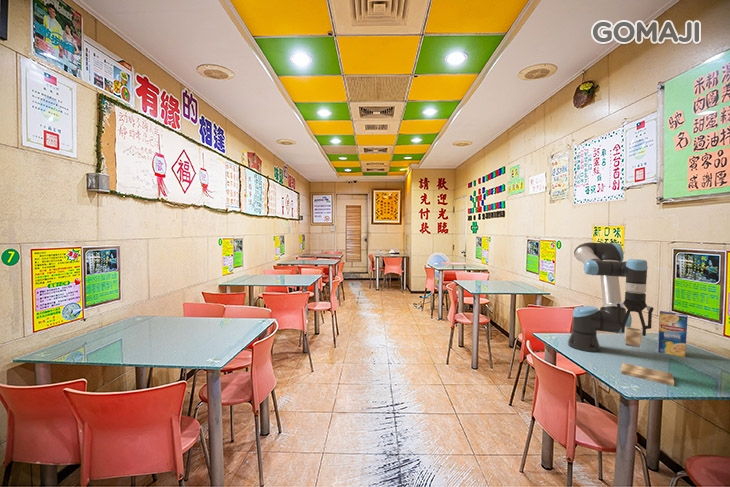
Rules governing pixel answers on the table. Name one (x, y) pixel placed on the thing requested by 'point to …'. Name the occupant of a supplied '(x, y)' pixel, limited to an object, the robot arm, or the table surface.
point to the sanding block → (633, 337)
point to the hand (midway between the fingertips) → (633, 340)
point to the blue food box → (672, 333)
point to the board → (647, 374)
